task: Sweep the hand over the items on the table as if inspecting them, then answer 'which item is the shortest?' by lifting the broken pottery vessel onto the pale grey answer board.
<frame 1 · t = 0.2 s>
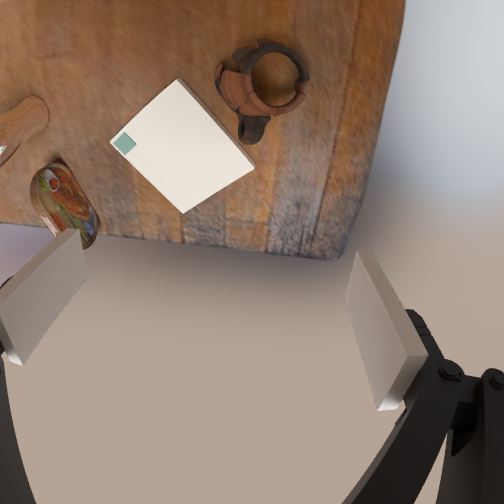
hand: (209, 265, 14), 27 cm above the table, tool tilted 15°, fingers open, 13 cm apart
answer board: (181, 148, 40), on the table
beer glass: (35, 113, 36), on the table
tin: (76, 191, 46), on the table
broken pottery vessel: (258, 84, 34), on the table
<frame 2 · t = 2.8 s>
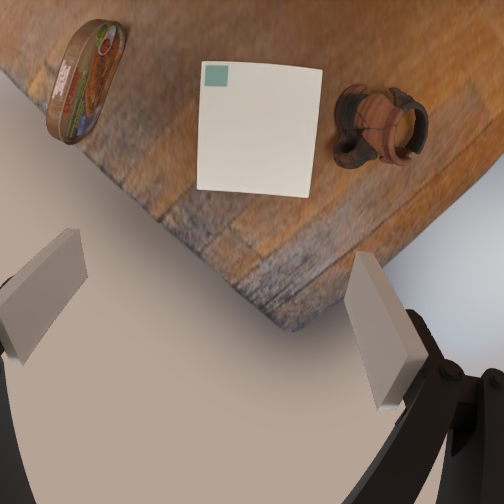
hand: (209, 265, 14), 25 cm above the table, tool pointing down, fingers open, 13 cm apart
answer board: (257, 127, 35), on the table
tin: (101, 80, 32), on the table
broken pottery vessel: (366, 126, 34), on the table
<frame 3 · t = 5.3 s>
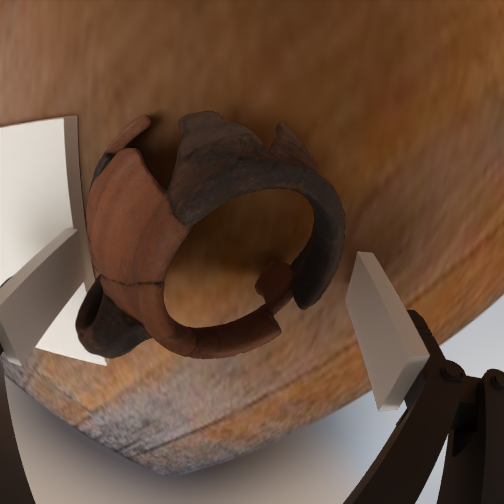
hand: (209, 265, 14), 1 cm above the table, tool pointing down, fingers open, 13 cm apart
answer board: (10, 246, 16), on the table
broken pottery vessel: (192, 214, 15), on the table
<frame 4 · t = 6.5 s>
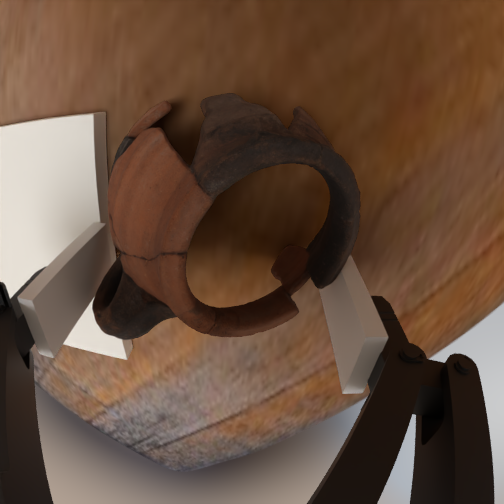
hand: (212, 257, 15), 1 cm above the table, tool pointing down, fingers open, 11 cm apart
answer board: (31, 240, 17), on the table
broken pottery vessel: (210, 199, 15), on the table, touching gripper
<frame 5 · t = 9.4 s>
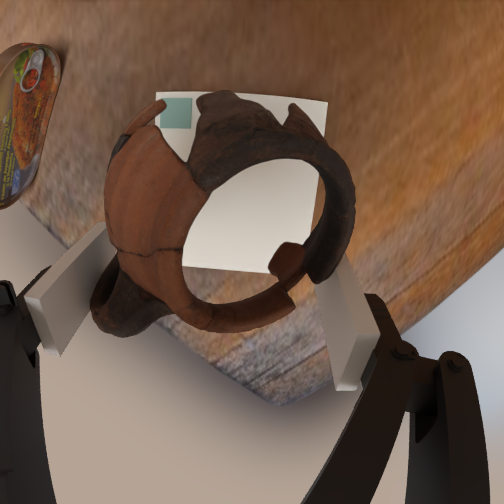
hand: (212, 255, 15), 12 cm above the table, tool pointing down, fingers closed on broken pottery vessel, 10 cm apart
answer board: (235, 183, 26), on the table
tin: (39, 119, 24), on the table
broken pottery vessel: (206, 196, 15), point 11 cm above the table, touching gripper
when the fingers open (3 cm above the table, at t = 11.6 s): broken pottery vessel stays where it is, resting on answer board.
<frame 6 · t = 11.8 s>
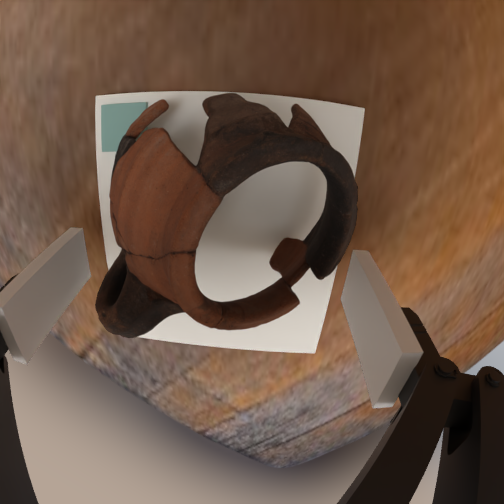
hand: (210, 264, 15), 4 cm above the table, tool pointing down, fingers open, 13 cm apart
answer board: (219, 231, 18), on the table
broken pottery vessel: (207, 194, 16), point 1 cm above the table, touching answer board
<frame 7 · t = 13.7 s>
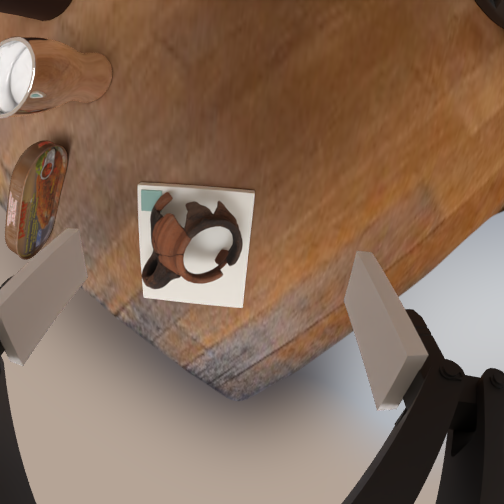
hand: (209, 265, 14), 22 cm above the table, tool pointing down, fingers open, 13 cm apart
answer board: (194, 246, 38), on the table
beer glass: (90, 77, 29), on the table
tin: (52, 190, 35), on the table
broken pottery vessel: (188, 230, 36), point 1 cm above the table, touching answer board
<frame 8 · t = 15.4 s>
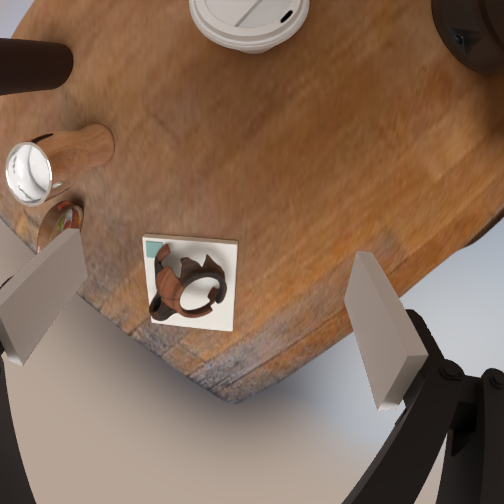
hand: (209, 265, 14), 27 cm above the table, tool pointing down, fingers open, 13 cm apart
bottle: (55, 66, 32), on the table
answer board: (191, 283, 47), on the table
beer glass: (95, 145, 38), on the table
tin: (71, 236, 44), on the table
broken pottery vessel: (185, 272, 45), point 1 cm above the table, touching answer board
coffee cup: (253, 29, 31), on the table
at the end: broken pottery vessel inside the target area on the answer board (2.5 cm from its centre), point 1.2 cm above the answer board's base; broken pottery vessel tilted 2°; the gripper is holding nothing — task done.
